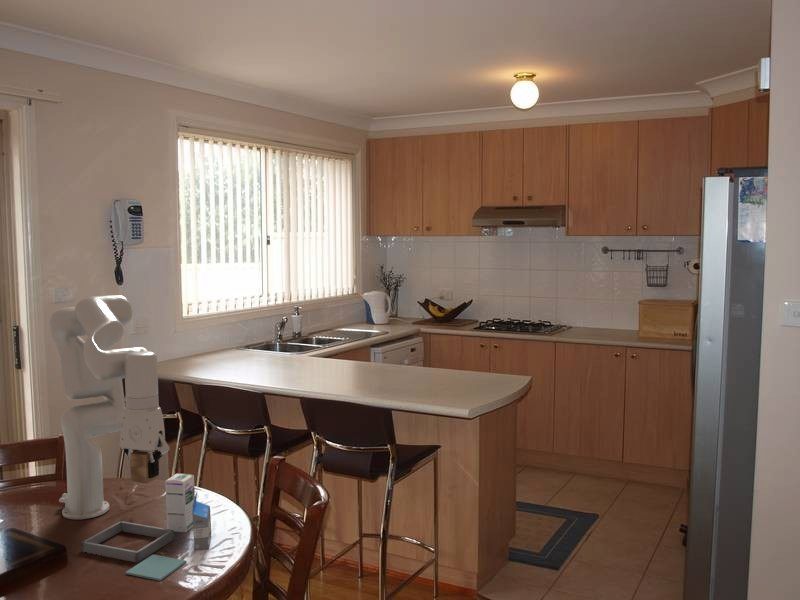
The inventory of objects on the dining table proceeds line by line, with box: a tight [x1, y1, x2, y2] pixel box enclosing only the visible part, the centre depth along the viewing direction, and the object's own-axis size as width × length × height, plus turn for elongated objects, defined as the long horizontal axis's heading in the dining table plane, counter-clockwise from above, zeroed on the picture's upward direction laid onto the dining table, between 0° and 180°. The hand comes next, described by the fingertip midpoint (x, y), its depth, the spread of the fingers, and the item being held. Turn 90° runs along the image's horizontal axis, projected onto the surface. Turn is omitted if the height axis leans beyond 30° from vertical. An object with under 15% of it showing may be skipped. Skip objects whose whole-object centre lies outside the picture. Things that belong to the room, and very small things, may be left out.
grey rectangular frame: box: [80, 520, 175, 564], centre depth 187 cm, size 17×14×2 cm
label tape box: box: [192, 492, 212, 551], centre depth 189 cm, size 9×4×12 cm, turn 10°
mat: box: [125, 553, 187, 582], centre depth 175 cm, size 10×10×1 cm
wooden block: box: [129, 450, 159, 484], centre depth 177 cm, size 4×4×7 cm
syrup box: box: [164, 473, 196, 534], centre depth 198 cm, size 6×6×14 cm
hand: (144, 474), depth 177 cm, fingers closed on wooden block, 4 cm apart
